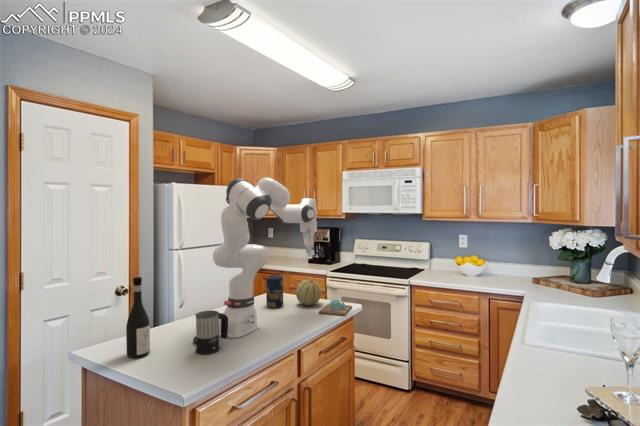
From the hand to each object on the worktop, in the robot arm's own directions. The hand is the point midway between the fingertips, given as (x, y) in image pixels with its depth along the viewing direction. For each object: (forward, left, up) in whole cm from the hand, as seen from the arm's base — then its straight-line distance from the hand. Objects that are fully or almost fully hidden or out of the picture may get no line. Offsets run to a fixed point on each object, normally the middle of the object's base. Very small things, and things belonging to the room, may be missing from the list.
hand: (308, 254), depth 198 cm
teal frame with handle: (+7, -14, -30) cm, 34 cm away
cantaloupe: (+13, +5, -31) cm, 34 cm away
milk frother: (-59, +23, -31) cm, 70 cm away
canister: (+4, +22, -31) cm, 39 cm away
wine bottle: (-74, +42, -31) cm, 91 cm away
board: (+7, -13, -31) cm, 34 cm away
